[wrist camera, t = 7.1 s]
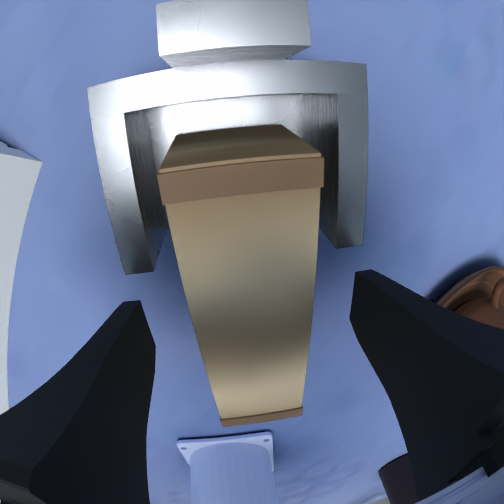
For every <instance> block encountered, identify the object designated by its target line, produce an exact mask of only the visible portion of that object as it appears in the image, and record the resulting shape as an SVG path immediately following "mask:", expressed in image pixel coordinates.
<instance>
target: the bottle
mask: <svg viewBox="0 0 504 504" xmlns="http://www.w3.org/2000/svg"><path fill="white" fill-rule="evenodd" d="M379 476H380V478H381V481H382V483H383V486H384V488H385V491H386V494H387V496H388V499H389V501H390V504H415V503H417V502H419V500H418V498H417V494H416V487H415V482H414V476H413V472H412V467H411V462H410V459H409V455H408V454H406V455H403V456H401V457H399V458H397V459H395V460H393V461H392V462H390V463H388V464H387V465H385V466H384V467H383V468H382V469H381V470H380V471H379Z"/></svg>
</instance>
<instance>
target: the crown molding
mask: <svg viewBox="0 0 504 504" xmlns="http://www.w3.org/2000/svg"><path fill="white" fill-rule="evenodd" d="M7 146H8V145H6V144H4V143H3V142H1V141H0V415H1V414H2V413H4V412H6V411H7V410H9V407H8V389H7V343H8V325H9V313H10V303H11V294H12V287H13V279H14V273H15V267H16V261H17V256H18V250H19V245H20V241H21V236H22V232H23V227H24V223H25V219H26V215H27V211H28V207H29V204H30V200H31V197H32V193H33V190H34V187H35V183H36V180H37V177H38V174H39V171H40V168H41V165H42V162H41V161H39V160H38V159H36V158H34V157H32V156H30V155H29V154H27V153H25V152H23V151H21V150H20V149H14V148H10V147H7Z"/></svg>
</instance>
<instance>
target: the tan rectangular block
mask: <svg viewBox="0 0 504 504" xmlns="http://www.w3.org/2000/svg"><path fill="white" fill-rule="evenodd" d="M157 179H158V184H159V189H160V195H161V200H162V205H165V206H166V211H167V216H168V221H169V226H170V231H171V235H172V240H173V245H174V249H175V254H176V258H177V262H178V267H179V271H180V275H181V279H182V284H183V288H184V292H185V296H186V300H187V304H188V308H189V311H190V315H191V319H192V323H193V327H194V330H195V334H196V337H197V341H198V345H199V348H200V352H201V355H202V359H203V362H204V365H205V369H206V372H207V375H208V379H209V382H210V385H211V389H212V392H213V395H214V398H215V401H216V404H217V407H218V410H219V413H220V421H221V424H222V427H229V426H237V425H245V424H253V423H260V422H266V421H273V420H279V419H284V418H290V417H295V416H300V415H302V411H303V407H302V400H303V393H304V385H305V378H306V369H307V361H308V353H309V344H310V334H311V324H312V314H313V303H314V291H315V278H316V264H317V249H318V231H319V210H320V188H321V187H323V184H324V157H323V156H321V153H320V152H319V151H318V150H316V149H315V148H314V147H312V146H311V145H310V144H308V143H307V142H305V141H304V140H303V139H301V138H300V137H299V136H297V135H296V134H294V133H293V132H292V131H290V130H289V129H287V128H286V127H284V126H283V125H282V124H279V125H262V126H249V127H238V128H228V129H218V130H210V131H201V132H194V133H187V134H180V135H176V136H175V138H174V140H173V142H172V144H171V146H170V148H169V150H168V152H167V154H166V156H165V158H164V160H163V162H162V164H161V166H160V168H159V172H158V174H157Z"/></svg>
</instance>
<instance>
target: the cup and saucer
mask: <svg viewBox="0 0 504 504" xmlns="http://www.w3.org/2000/svg"><path fill="white" fill-rule="evenodd" d="M436 304H438V305H440V306H442V307H444V308H446V309H448V310H451V311H453V312H455V313H458V314H460V315H463V316H465V317H468V318H470V319H473V320H476V321H478V322H481V323H485V324H488V325H491V326H494V327H498V328H502V329H504V267H501V266H491V267H487V268H484V269H482V270H479V271H476V272H474V273H472V274H470V275H469V276H467V277H465V278H464V279H462V280H461V281H460V282H458V283H457V284H456V285H454V286H453V287H452V288H451V289H450V290H449V291H447V292H446V293H445V294H444V295H443V296H442V297H441V298H440V299H439V300H438V301H437V302H436Z"/></svg>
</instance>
